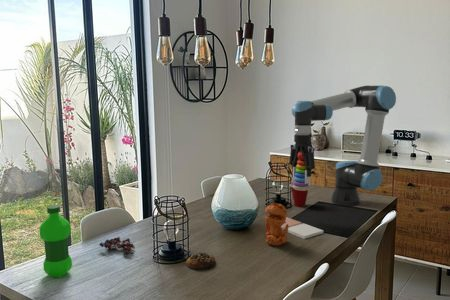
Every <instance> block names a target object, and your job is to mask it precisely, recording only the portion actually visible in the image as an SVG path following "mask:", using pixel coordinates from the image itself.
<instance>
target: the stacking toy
mask: <svg viewBox="0 0 450 300" xmlns="http://www.w3.org/2000/svg"><path fill="white" fill-rule="evenodd" d="M305 154H307V153H305ZM297 156H298V159H299V160H298V161H297V166H296V167H297V169H296V173H295V176H296V177H295V178H294V180H293V182H292V184H294V185H293V188H294V189H295V190H300V191H305V190H308V191H309V189H310V188H311V186H310V185H309V184H310V183H307V184H305V169H306V165H305V161H304V157H303V156H302V152H298V155H297Z"/></svg>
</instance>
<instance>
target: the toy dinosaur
mask: <svg viewBox="0 0 450 300" xmlns="http://www.w3.org/2000/svg"><path fill="white" fill-rule="evenodd" d="M264 210H265V212H266V214H268V215H266V216H264V218H263V219H264V221H266V223H265V225H264V226H265V227H264V228H265V230H266V231H267V232H266V233H265V234H264V239H265V244H267V243H269V244H270V245H271V246H281V245H283V244H285V243H287V239H288V235H286V234H288V227H289V226H288V224H286V227H285V230H282V227H281V226H282V225H283V224H284V223H286V222H285V220H286V217H288V215H289V214H288V213H287V209H286V207H285V205H283V204H281V203H275V202H273V201H272V202H271V204H269V205H267V206H266V208H265V209H264Z"/></svg>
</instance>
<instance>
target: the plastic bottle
mask: <svg viewBox="0 0 450 300" xmlns="http://www.w3.org/2000/svg"><path fill="white" fill-rule="evenodd" d="M60 206H61V205H58V204H53V205H49V206H46V208H47V210H46V211H47V213H48V214H49V216H48V217H47V218H45V220H44V221H42V223H41V224H40V226H39V237H40V239H41V240H43V241H44V252H45V253H44V254H45V255H44V256H45V258H44V260H43V263H42V265H43V271H44V273H45V274H46V275H48V276H50V277H51V276H52V278H54V277H56V278H61V277H60V276H62V277H64V276H66V275H67V273H68V272H69V271H71V269H72V267H73V261H72V260H73V259H72V257H71V255H70V254H69V239H68V238H69V236H70V235H71V231H72V229H71V228H72V227H71V223H70V221H69V220H67V219H66V218H65V217H64V216H61V215H60V212H61V207H60Z"/></svg>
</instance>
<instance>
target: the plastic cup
mask: <svg viewBox="0 0 450 300" xmlns="http://www.w3.org/2000/svg"><path fill="white" fill-rule="evenodd" d="M293 185H294V184H293V183H289V187H290V189H291V190H290V191H291V196H292V200H293V204H294V207H299V208H301V207H306V203H307V197H308V192H309V190H305V191H300V190H295V189H294V188H293ZM310 185H311V184H310V183H309V186H310Z"/></svg>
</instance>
